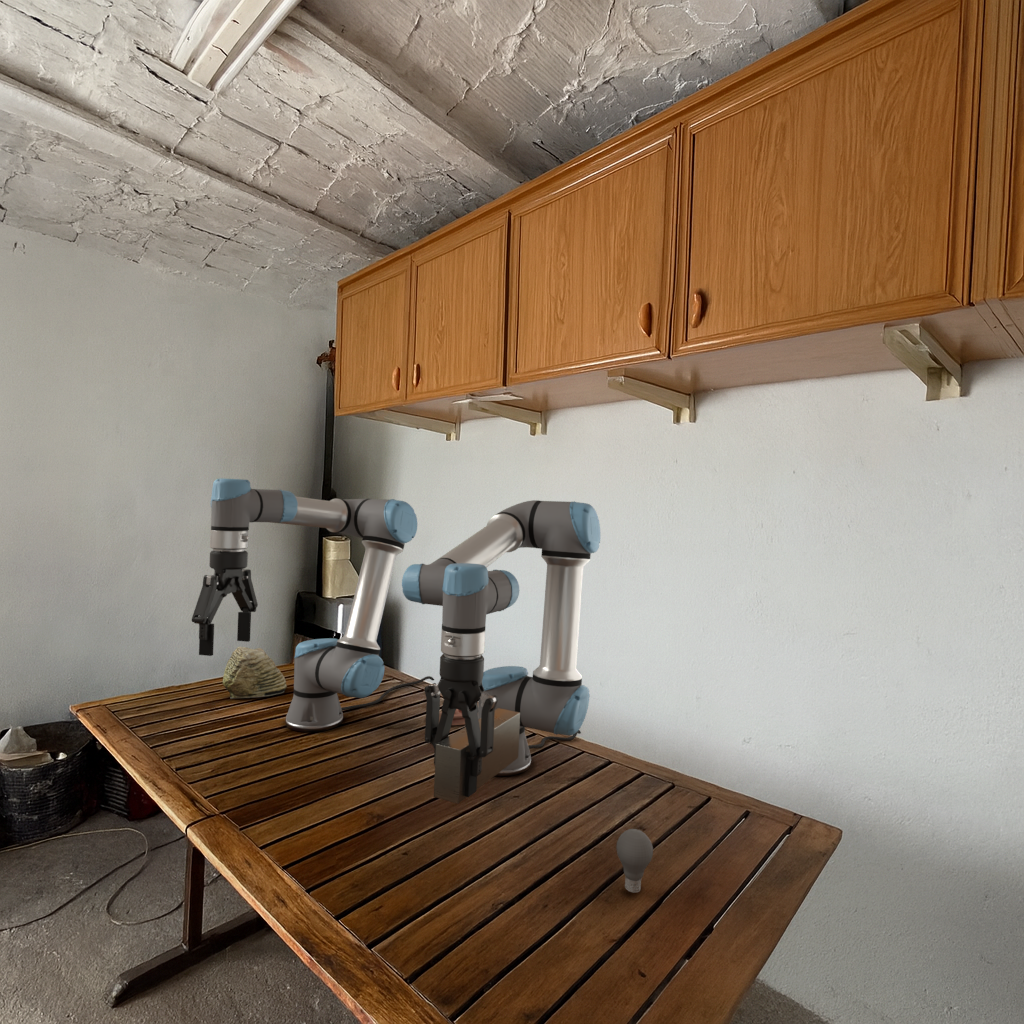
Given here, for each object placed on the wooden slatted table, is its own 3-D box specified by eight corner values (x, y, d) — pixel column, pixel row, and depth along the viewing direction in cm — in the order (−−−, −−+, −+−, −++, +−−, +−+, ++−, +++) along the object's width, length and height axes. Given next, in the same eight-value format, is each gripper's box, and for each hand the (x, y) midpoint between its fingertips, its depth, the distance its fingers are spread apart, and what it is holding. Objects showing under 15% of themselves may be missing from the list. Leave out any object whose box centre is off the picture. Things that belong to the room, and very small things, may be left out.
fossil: (218, 695, 195) (220, 647, 195) (278, 685, 208) (279, 640, 207) (228, 703, 189) (230, 653, 188) (289, 692, 201) (290, 645, 201)
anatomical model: (423, 709, 179) (436, 697, 190) (423, 723, 179) (436, 710, 190) (469, 714, 176) (479, 702, 188) (468, 728, 177) (478, 715, 188)
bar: (496, 752, 127) (498, 707, 127) (518, 757, 125) (520, 712, 124) (433, 796, 107) (435, 743, 107) (458, 804, 105) (460, 750, 104)
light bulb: (610, 879, 108) (613, 822, 108) (644, 879, 109) (647, 822, 109) (619, 902, 102) (622, 840, 102) (655, 901, 103) (658, 840, 103)
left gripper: (209, 555, 124) (205, 663, 124) (275, 547, 149) (272, 637, 149) (174, 553, 125) (170, 660, 125) (245, 545, 150) (242, 634, 150)
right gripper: (406, 650, 109) (400, 785, 109) (498, 667, 101) (491, 812, 101) (431, 643, 116) (425, 769, 116) (519, 658, 108) (512, 793, 108)
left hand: (225, 647), depth 137 cm, fingers open, 13 cm apart
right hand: (456, 789), depth 109 cm, fingers closed on bar, 5 cm apart
